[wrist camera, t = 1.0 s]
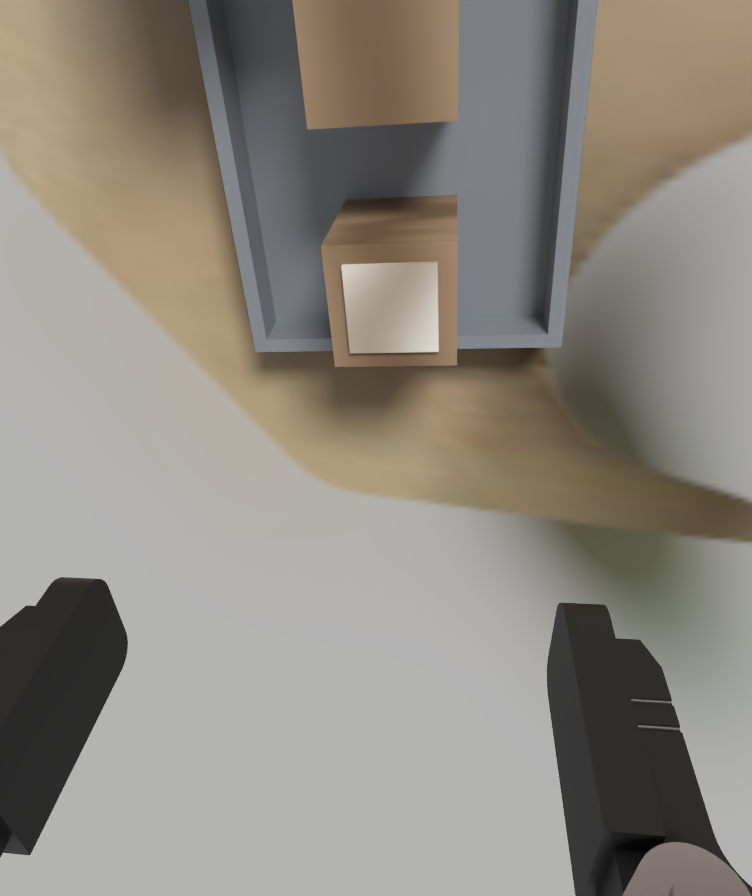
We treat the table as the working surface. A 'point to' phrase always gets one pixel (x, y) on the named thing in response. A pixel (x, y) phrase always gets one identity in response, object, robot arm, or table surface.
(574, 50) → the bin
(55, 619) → the robot arm
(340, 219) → the labelled block
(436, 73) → the plain block
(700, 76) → the table surface
